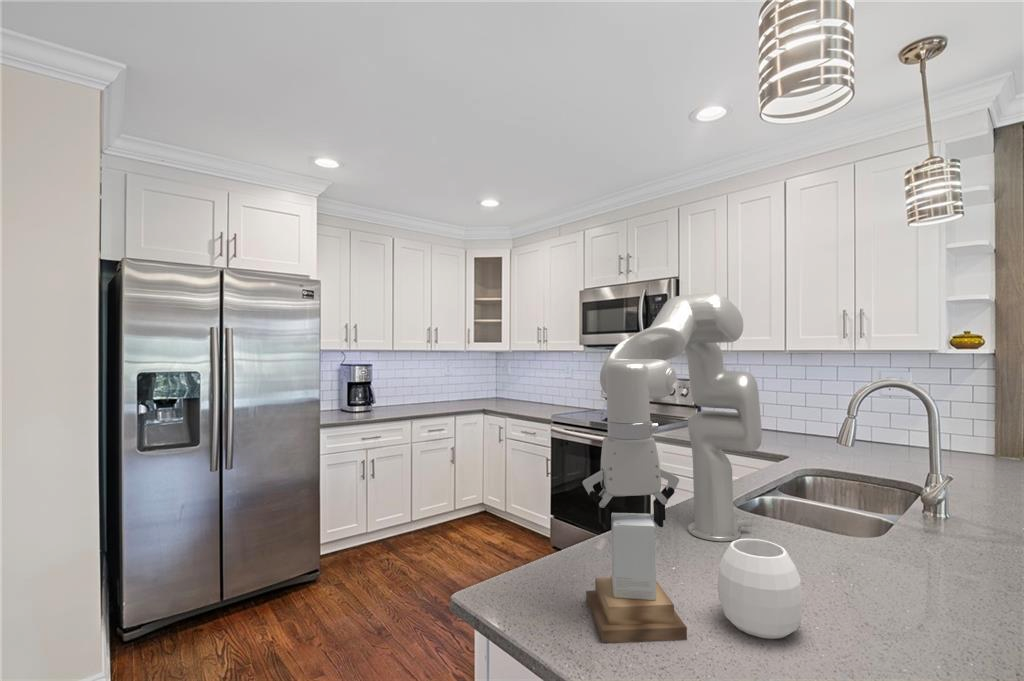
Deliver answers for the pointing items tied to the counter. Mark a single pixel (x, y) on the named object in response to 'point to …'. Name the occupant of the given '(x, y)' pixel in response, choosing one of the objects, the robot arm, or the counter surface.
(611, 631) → the plinth
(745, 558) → the white vase
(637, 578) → the supplement box
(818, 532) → the counter surface
